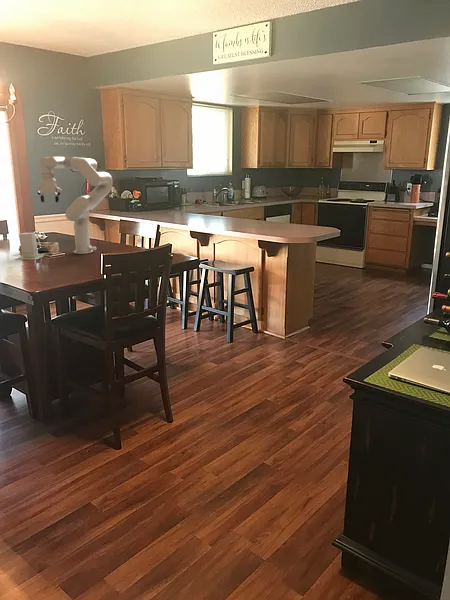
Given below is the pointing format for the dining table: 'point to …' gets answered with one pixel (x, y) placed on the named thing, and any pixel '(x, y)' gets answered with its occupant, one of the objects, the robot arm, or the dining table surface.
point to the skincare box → (28, 245)
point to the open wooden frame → (50, 246)
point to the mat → (31, 258)
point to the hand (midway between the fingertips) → (50, 202)
